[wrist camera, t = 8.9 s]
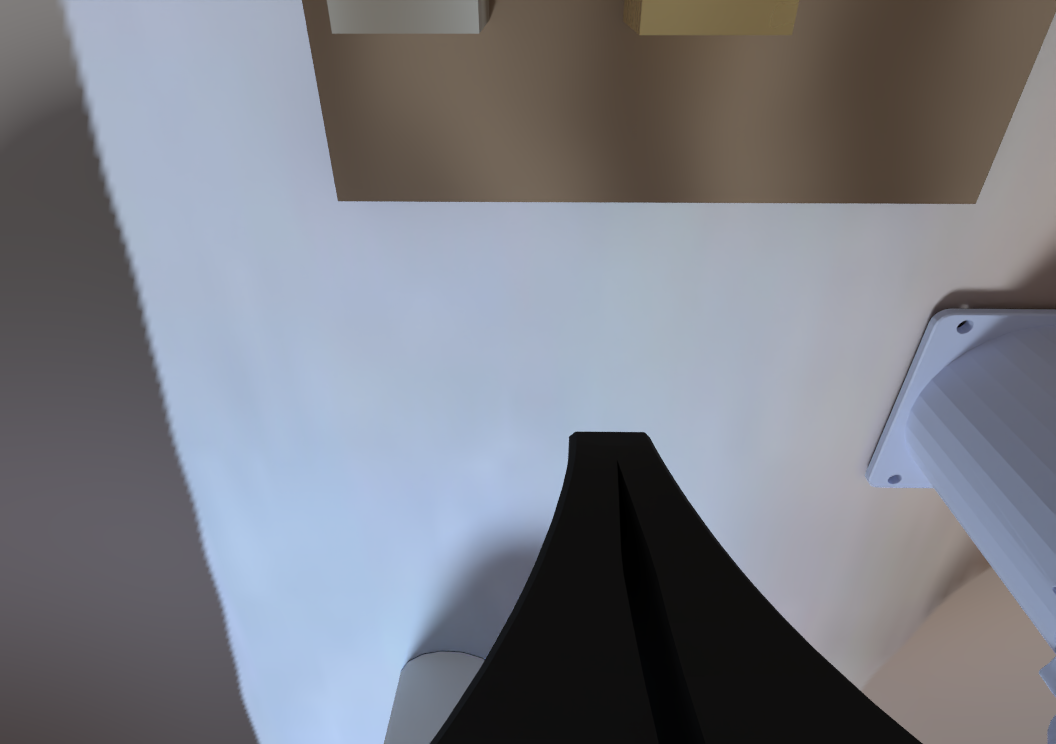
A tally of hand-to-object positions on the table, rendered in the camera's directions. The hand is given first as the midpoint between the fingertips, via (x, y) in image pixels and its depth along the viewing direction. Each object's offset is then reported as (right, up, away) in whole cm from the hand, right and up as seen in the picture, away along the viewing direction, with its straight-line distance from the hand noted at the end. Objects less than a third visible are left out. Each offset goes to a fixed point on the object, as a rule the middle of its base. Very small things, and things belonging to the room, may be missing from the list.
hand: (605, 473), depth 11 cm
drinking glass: (-6, -15, +23) cm, 29 cm away
